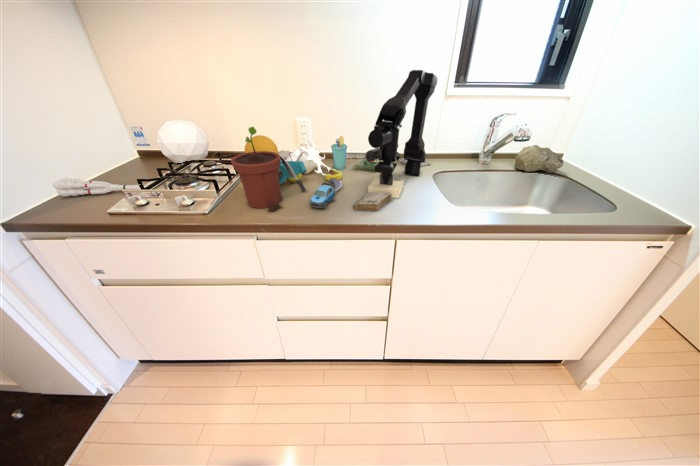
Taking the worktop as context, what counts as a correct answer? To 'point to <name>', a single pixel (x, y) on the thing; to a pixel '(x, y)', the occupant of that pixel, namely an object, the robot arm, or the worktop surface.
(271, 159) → the potted plant
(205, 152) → the geometric form
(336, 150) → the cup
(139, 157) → the worktop surface
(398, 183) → the panel
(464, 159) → the worktop surface
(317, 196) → the toy car
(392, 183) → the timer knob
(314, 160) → the white branched figurine
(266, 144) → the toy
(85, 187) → the rocket model
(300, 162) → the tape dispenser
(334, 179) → the knife
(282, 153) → the seashell
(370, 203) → the stone
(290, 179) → the fruit
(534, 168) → the rock
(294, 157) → the white small pieces
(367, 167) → the box
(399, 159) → the napkin holder
